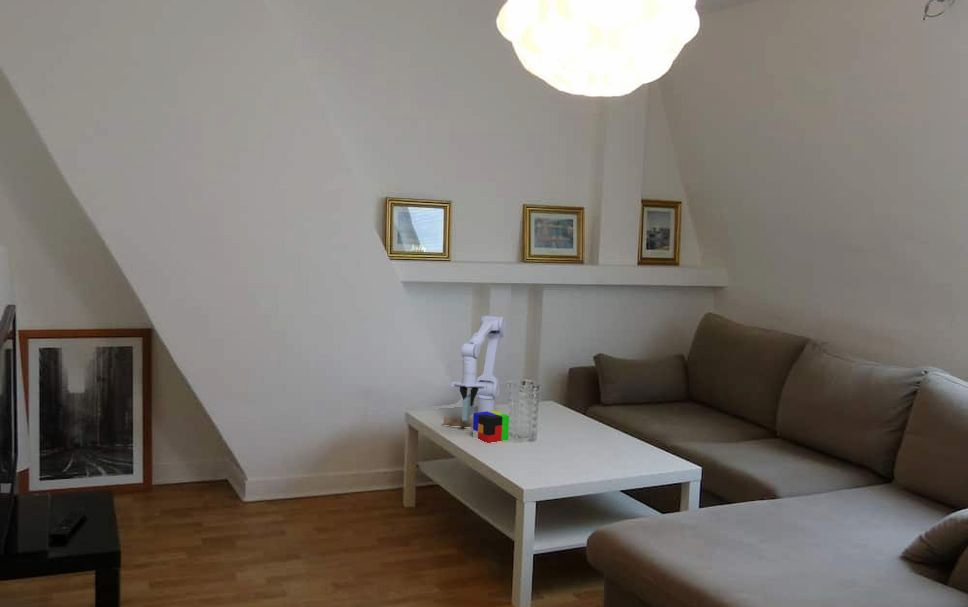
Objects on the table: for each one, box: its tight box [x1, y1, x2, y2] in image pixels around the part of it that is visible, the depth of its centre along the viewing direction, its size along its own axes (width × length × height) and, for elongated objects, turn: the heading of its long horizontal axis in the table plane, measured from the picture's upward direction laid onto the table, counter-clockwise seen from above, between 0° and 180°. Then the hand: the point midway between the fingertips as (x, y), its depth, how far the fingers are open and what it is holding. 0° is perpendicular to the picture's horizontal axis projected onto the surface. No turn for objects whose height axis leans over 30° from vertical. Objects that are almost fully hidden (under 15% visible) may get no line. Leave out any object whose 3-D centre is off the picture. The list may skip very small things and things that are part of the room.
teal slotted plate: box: [461, 393, 475, 422], centre depth 375 cm, size 14×2×8 cm, turn 170°
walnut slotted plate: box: [443, 416, 473, 428], centre depth 376 cm, size 20×2×4 cm, turn 80°
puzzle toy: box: [472, 410, 510, 444], centre depth 360 cm, size 10×10×10 cm
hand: (468, 405), depth 375 cm, fingers closed on teal slotted plate, 2 cm apart
